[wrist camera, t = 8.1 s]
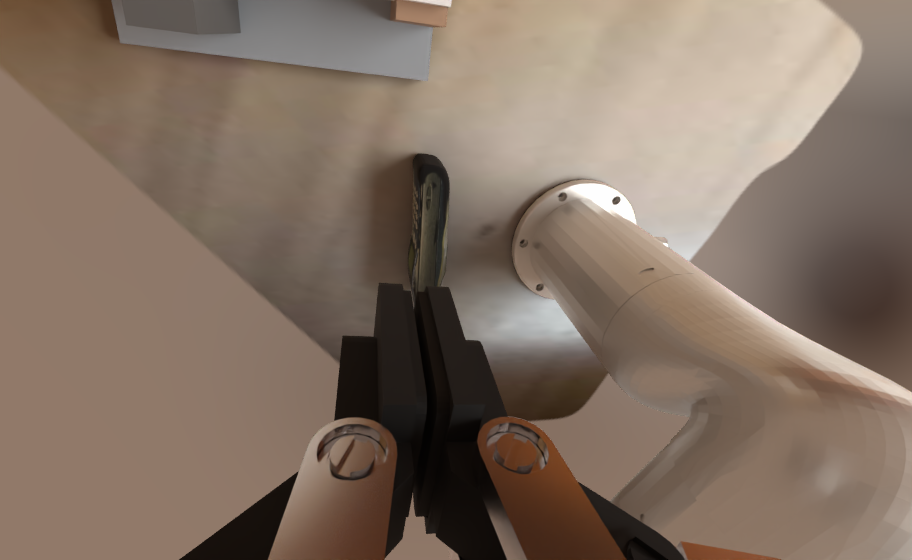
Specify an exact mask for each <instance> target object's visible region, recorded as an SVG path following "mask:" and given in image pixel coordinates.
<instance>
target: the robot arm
mask: <svg viewBox="0 0 912 560" xmlns="http://www.w3.org/2000/svg"><path fill="white" fill-rule="evenodd" d="M560 193H561V195H560V196H559V194H560ZM521 240H523V241H521ZM520 241H521V242H520ZM667 245H668V242H667V239H666V238H664V237H653V236H652V235H650V234H649V233H647V232H646V231H645V230H643V229H642V228H640V227H639V226H637V225H636V218H635V213H634V211H633V208H632V206H631V204H630V202H629V201H628V200H627V199H626V197H625V196H624V195H623V194H622V193H620V192H619V191H618V190H616V189H615V188H613V187H612V186H610V185H608V184H606V183H603V182H599V181H596V180H585V179H584V180H576V181H570V182H567V183H564V184H561V185H558V186H556V187H554V188H553V189H551V190H549V191H547V192H546V193H544V194H543V195H542V196H540V197H539V198H538V199H537V200H536V201H535V202H534V203H533V204H532V205H531V206H530V207H529V208H528V209H527V211H526V212H525V214H524V215H523V217H522V218H521V219H520V222H519V224H518V226H517V228H516V230H515V234H514V238H513V242H512V258H513V264H514V267H515V269H516V272H517V274H518V275H519V277H520V278H521V280H522V282H523V283H524V284H525V285H526V286H527V287H528V288H529V289H530V290H531V291H533V292H534V293H536V294H538V295H540V296H542V297H545V298H549V299H554V300H556V301H557V303H558V304H559V306H560V307H561V308H562V310H563V311H564V312H565V314H566V315H567V317H568V318H569V319H570V321H571V322H572V323H573V325H574V326H575V328H576V329H577V330H578V332H579V333H580V334H581V336H582V337H583V339H584V340H585V341H586V343H587V344H588V345H589V347H590V348H591V350H592V351H593V352H594V354H595V355H596V356H597V358H598V359H599V360H600V362H601V363H602V365H603V366H604V367H605V369H606V370H607V371H608V373H609V374H610V376H611V377H612V378H613V380H614V381H615V382H616V383H617V384H618V386H619V387H620V388H621V389H622V390H623V391H624V392H625V393H626V394H627V395H629V396H630V397H631V398H633V399H634V400H636V401H638V402H639V403H641V404H643V405H645V406H647V407H650V408H653V409H656V410H659V411H662V412H666V413H670V414H675V415H680V416H686V417H689V420H688V421H687V423H686V424H685V426H684V427H683V428H682V429H681V430H680V431H679V432H678V433H677V435H675V436H674V437H673V438H672V439H671V441H670V443H669V444H668V445H667V446H666V447H665V448H664V449H663V450H662V451H660V452H659V453H658V454H657V455H656V457H654V458H653V459H652V460H651V461H650V462H649V463H648V464H647V465H646V466H645V467H644V468H643V469H642V470H641V471H640V472H639V473H637V474H636V475H635V476H634V477H633V479H631V480H630V481H629V482H628V483H627V484H626V485H625V486H624V487H623V488H622V489H621V490H620V492H618V493H617V494H616V495H615V496H614V497H613V498H612V499H611V501H610V502H609V501H608V500H606V499H604V498H603V497H601V496H600V495H598V494H597V493H595V492H593V491H592V490H590V489H589V488H587V487H585V486H584V485H582V484H581V483H579V482H578V481H577V480H576V478H575V477H574V475H573V474H572V472H571V470H570V469H569V467H568V466H567V464H566V462H565V461H564V459H563V458H562V456H561V455H560V453H559V451H558V450H557V448H556V447H555V445H554V443H553V442H552V440H550V438H549V437H548V435H546V433H545V432H544V431H543V430H541V429H540V428H539V427H537V426H536V425H534V424H532V423H530V422H528V421H526V420H524V419H520V418H515V417H508V416H507V413H506V410H505V407H504V405H503V402H502V399H501V396H500V394H499V391H498V388H497V385H496V382H495V380H494V377H493V374H492V371H491V369H490V366H489V363H488V360H487V357H486V355H485V352H484V349H483V346H482V344H481V342H480V341H475V340H465V337H464V334H463V331H462V327H461V324H460V321H459V318H458V315H457V311H456V308H455V305H454V302H453V298H452V295H451V292H450V289H449V287H435V286H426V287H425V290H424V292H422V291H417V293H416V298H415V305H414V309H413V302H412V296H411V291H405V290H403V286H402V284H388V283H379V286H378V296H377V306H376V317H375V327H374V337H363V336H343V338H342V348H341V358H340V368H339V378H338V389H337V400H336V410H335V419H334V421H333V422H332V423H329V424H328V425H326V426H324V427H322V428H321V429H320V430H319V431H318V432H317V433H316V434H315V435H314V436H313V438H312V439H311V441H310V443H309V445H308V447H307V450H306V453H305V455H304V458H303V461H302V464H301V467H300V470H299V471H298V472H297V473H296V474H294V475H293V476H292V477H290V478H289V479H288V480H286V481H285V482H283V483H282V484H281V485H279V486H278V487H277V488H275V489H274V490H273V491H271V492H270V493H269V494H267V495H266V496H265V497H263V498H262V499H261V500H259V501H258V502H257V503H255V504H254V505H253V506H251V507H250V508H248V509H247V510H246V511H244V512H243V513H242V514H240V515H239V516H238V517H236V518H235V519H234V520H232V521H231V522H229V523H228V524H227V525H225V526H224V527H223V528H221V529H220V530H219V531H217V532H216V533H215V534H214V535H212V536H211V537H209V538H208V539H206V540H205V541H204V542H202V543H201V544H200V545H199V546H197V547H196V548H194V549H193V550H192V551H190V552H189V553H188V554H186V555H185V556H184V557H182V558H181V559H179V560H384V559H385V558H386V556H387V555H388V554H389V553H390V552H391V550H392V549H394V547H395V546H396V545H397V544H398V543H399V542H400V541H401V539H402V537H403V531H404V526H405V520H406V517H408V515H409V510H410V504H411V499H412V493H413V498H414V509H415V515H416V517H419V516H424V517H425V526H426V534H432V533H436V537H437V538H439V539H440V540H441V541H442V542H444V543H445V544H446V545H447V546H448V547H449V557H450V560H912V392H911V391H909V390H907V389H905V388H904V387H902V386H900V385H898V384H897V383H895V382H893V381H891V380H890V379H888V378H886V377H884V376H882V375H880V374H877V373H875V372H874V371H872V370H869V369H867V368H866V367H864V366H862V365H859V364H857V363H855V362H853V361H851V360H849V359H847V358H845V357H843V356H841V355H839V354H837V353H835V352H833V351H831V350H829V349H827V348H825V347H823V346H821V345H819V344H817V343H815V342H814V341H811V340H810V339H808V338H806V337H804V336H803V335H801V334H799V333H797V332H795V331H793V330H792V329H790V328H788V327H786V326H784V325H783V324H781V323H779V322H777V321H776V320H774V319H773V318H771V317H770V316H768V315H766V314H765V313H763V312H762V311H760V310H759V309H757V308H756V307H754V306H753V305H751V304H750V303H748V302H746V301H745V300H743V299H742V298H740V297H739V296H737V295H736V294H734V293H733V292H732V291H730V290H729V289H727V288H726V287H724V286H723V285H721V284H720V283H719V282H717V281H716V280H714V279H713V278H712V277H710V276H709V275H707V274H706V273H704V272H703V271H702V270H700V269H699V268H697V267H696V266H694V265H693V264H692V263H690V262H689V261H687V260H686V259H684V258H683V257H682V256H680V255H679V254H677V253H676V252H674V251H673V250H672V249H670V248H669V247H667Z"/></svg>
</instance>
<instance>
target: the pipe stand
mask: <svg viewBox="0 0 912 560" xmlns="http://www.w3.org/2000/svg"><path fill="white" fill-rule="evenodd" d="M111 1H112V5H113V10H114V15H115V20H116V25H117V30H118V34H119V39H120V43H125V44H133V45H141V46H149V47H157V48H165V49H173V50H181V51H189V52H197V53H206V54H214V55H222V56H230V57H238V58H246V59H254V60H262V61H270V62H278V63H286V64H294V65H302V66H311V67H319V68H327V69H335V70H343V71H351V72H359V73H367V74H375V75H383V76H391V77H399V78H407V79H416V80H424V81H428V74H429V63H430V52H431V41H432V29H433V27H446V21H447V11H448V7H451V1H452V0H238V8H239V18H240V29H241V33H236V34H205V35H196V34H189V33H181V32H174V31H166V30H158V29H151V28H143V27H136V26H128V25H126V21H125V16H124V11H123V6H122V1H121V0H111Z"/></svg>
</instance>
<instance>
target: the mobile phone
mask: <svg viewBox="0 0 912 560" xmlns="http://www.w3.org/2000/svg"><path fill="white" fill-rule="evenodd" d="M448 217H449V177H448V174H447V171H446V169H445V167H444V166H443V164H442V163H441V161H440V160H439V159H438V158H437V157H435V156H433V155H428V154H417V155H415V157H414V160H413V221H412V234H411V241H410V247H409V253H408V271H409V278H410V284H411V290H412V295H413V300H414V305H415V298H416V293H417V291H422V292H424V290H425V287H426V286H435V287H440V285H441V282H442V279H443V277H444V274H445V270H446V257H447V229H448Z"/></svg>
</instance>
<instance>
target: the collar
mask: <svg viewBox="0 0 912 560" xmlns="http://www.w3.org/2000/svg"><path fill="white" fill-rule="evenodd" d="M121 1H122V6H123V11H124V16H125V21H126V25H128V26H136V27H143V28H151V29H158V30H166V31H174V32H181V33H189V34H196V35H205V34H236V33H241V29H240V18H239V8H238V0H121Z"/></svg>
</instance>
